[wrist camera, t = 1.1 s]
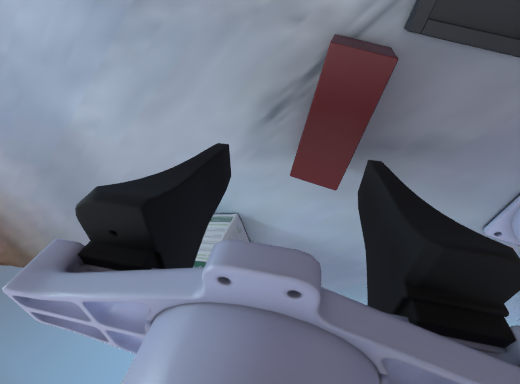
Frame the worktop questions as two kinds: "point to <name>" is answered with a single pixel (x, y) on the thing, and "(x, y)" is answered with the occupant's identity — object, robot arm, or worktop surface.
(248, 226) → the worktop surface
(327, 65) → the dark red block
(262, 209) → the worktop surface
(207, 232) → the syrup box
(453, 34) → the cradle
